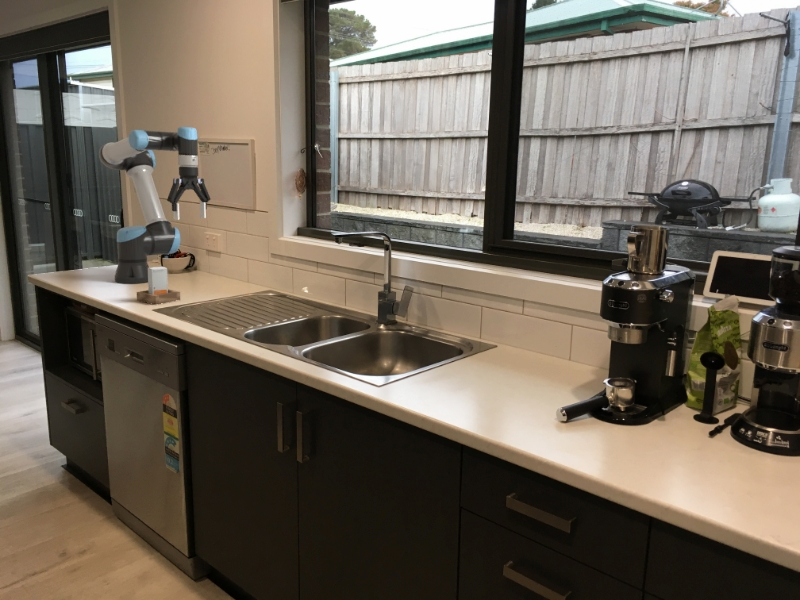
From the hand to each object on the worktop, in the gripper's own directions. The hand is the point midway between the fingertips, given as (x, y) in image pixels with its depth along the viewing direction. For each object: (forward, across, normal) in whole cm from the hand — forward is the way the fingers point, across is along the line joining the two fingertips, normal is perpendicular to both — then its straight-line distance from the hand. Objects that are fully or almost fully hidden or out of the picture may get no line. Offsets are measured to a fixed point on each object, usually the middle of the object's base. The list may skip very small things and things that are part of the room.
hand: (190, 218), depth 265 cm
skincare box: (+28, -26, -12) cm, 40 cm away
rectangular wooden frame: (+29, -26, -12) cm, 41 cm away
